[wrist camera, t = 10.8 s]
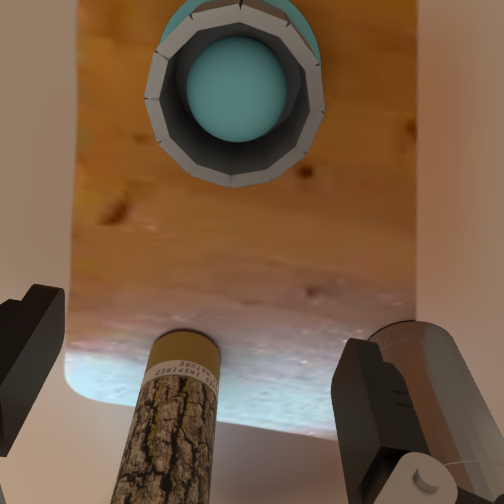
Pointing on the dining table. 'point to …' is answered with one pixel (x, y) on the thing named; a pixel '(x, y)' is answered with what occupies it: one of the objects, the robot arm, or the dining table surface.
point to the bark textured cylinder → (172, 425)
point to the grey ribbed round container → (176, 102)
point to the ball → (237, 89)
